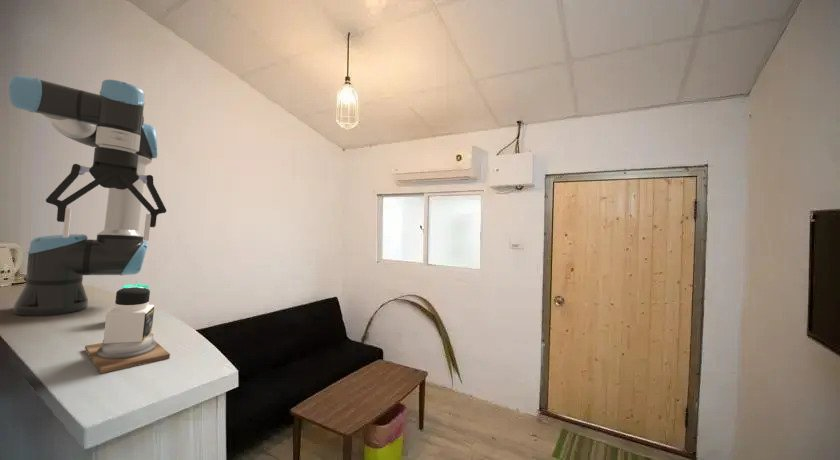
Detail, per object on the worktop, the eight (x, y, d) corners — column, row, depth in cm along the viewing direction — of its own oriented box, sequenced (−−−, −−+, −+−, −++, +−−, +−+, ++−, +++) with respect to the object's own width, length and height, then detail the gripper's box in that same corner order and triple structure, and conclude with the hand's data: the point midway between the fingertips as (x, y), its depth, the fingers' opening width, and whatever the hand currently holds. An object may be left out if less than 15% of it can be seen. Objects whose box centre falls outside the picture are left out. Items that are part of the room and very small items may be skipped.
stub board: (84, 349, 76) (86, 333, 76) (148, 338, 86) (149, 324, 86) (100, 373, 67) (102, 355, 67) (169, 358, 77) (171, 341, 77)
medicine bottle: (142, 342, 75) (148, 292, 75) (102, 344, 72) (108, 291, 72) (151, 331, 81) (156, 285, 81) (115, 333, 78) (120, 285, 78)
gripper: (32, 132, 63) (22, 237, 64) (185, 160, 81) (176, 242, 82) (37, 136, 69) (28, 233, 69) (180, 162, 87) (171, 239, 87)
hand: (108, 238), depth 75 cm, fingers open, 13 cm apart
